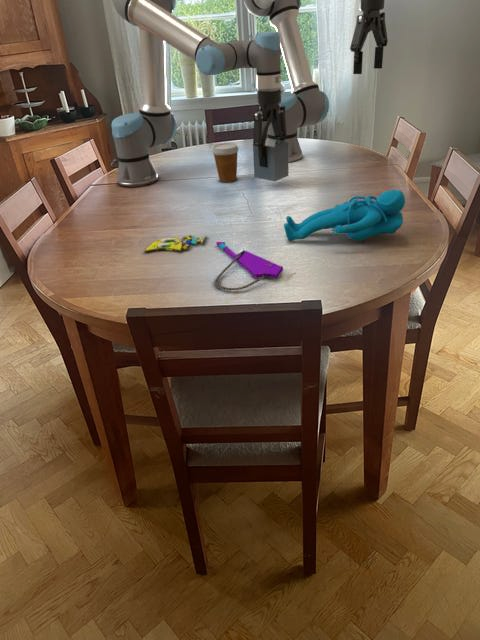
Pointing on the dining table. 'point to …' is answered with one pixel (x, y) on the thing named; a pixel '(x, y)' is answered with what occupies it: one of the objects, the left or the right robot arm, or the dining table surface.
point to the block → (272, 161)
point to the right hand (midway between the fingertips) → (367, 71)
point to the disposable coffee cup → (226, 161)
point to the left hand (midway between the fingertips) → (270, 163)
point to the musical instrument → (250, 266)
